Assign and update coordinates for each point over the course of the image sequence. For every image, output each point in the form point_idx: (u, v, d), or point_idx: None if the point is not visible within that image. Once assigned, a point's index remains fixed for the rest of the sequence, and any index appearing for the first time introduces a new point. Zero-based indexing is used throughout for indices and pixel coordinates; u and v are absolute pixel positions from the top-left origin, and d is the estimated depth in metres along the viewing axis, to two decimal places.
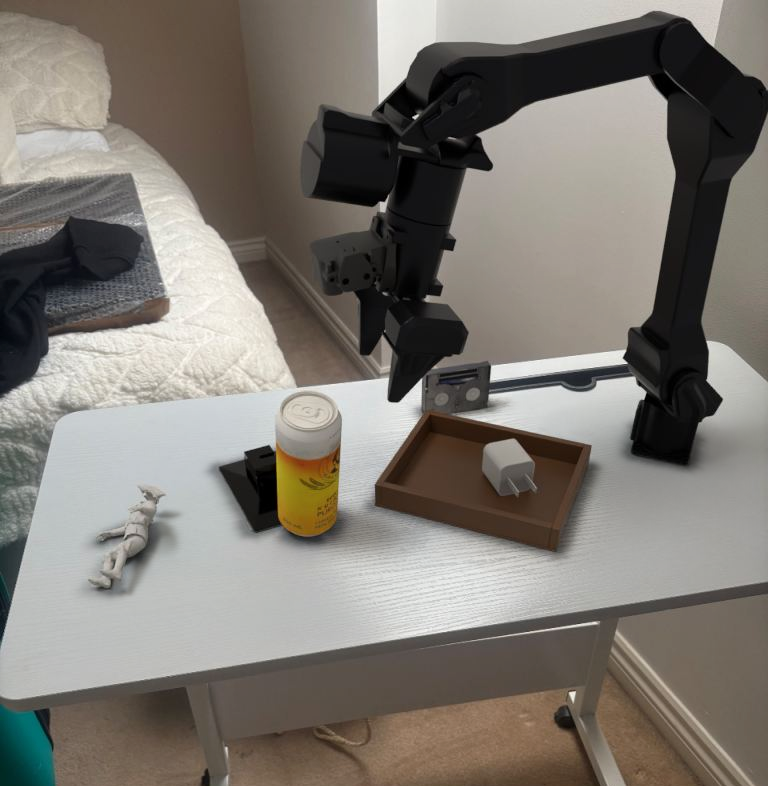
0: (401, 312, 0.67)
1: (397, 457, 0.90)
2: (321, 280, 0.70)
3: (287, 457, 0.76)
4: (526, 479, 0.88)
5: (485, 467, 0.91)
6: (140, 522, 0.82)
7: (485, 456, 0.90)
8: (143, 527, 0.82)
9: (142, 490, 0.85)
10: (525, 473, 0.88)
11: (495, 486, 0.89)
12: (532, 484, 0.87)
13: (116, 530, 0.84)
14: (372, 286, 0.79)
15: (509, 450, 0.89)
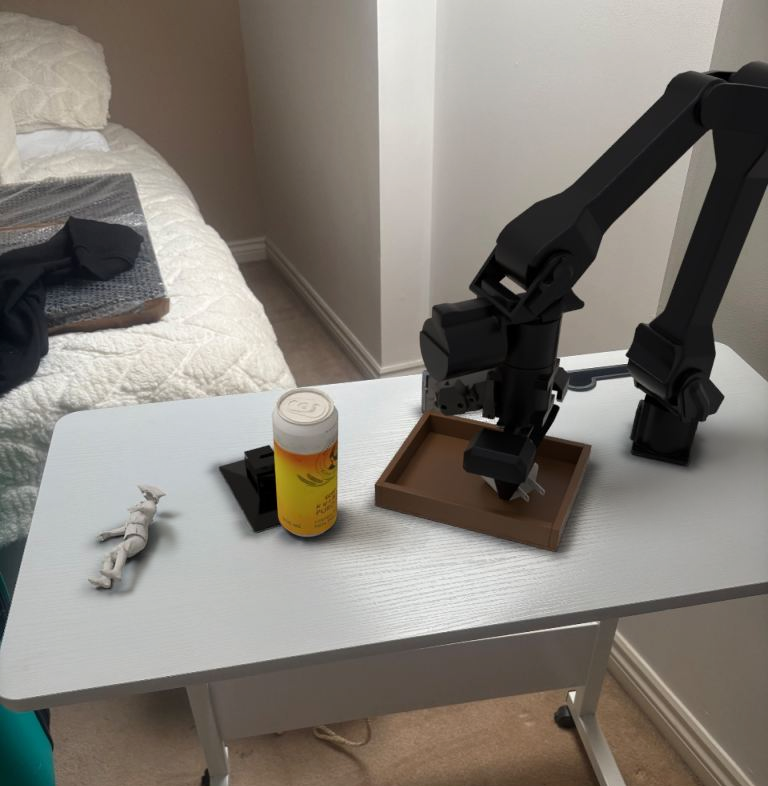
0: (474, 440, 0.79)
1: (397, 457, 0.90)
2: None
3: (284, 453, 0.76)
4: (531, 482, 0.88)
5: None
6: (140, 522, 0.82)
7: None
8: (143, 527, 0.82)
9: (142, 490, 0.85)
10: (529, 476, 0.87)
11: None
12: (539, 487, 0.86)
13: (116, 530, 0.84)
14: None
15: None
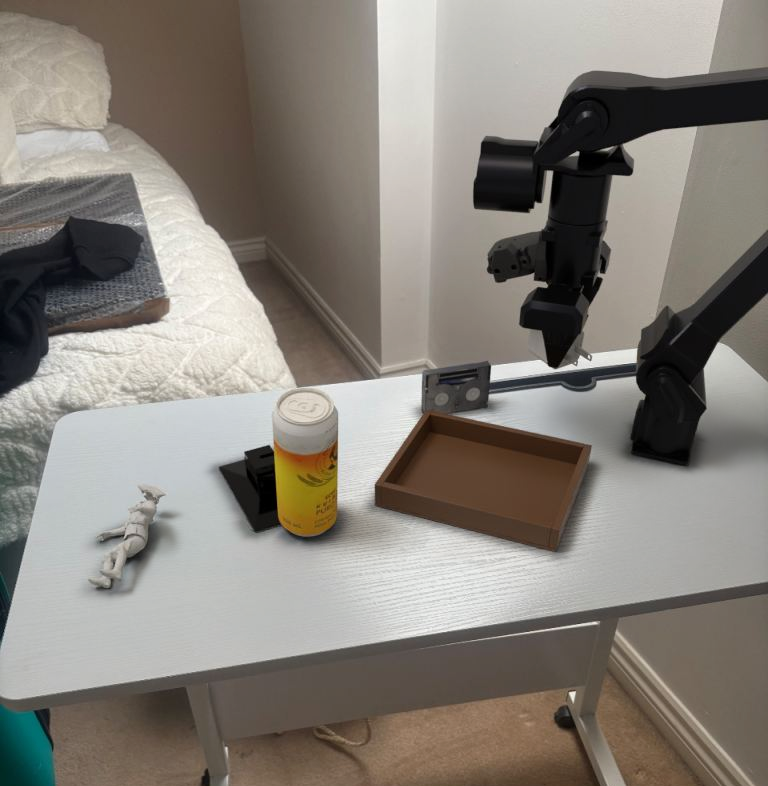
0: (529, 297, 0.82)
1: (397, 457, 0.90)
2: None
3: (284, 453, 0.76)
4: (577, 350, 0.91)
5: (532, 344, 0.92)
6: (140, 522, 0.82)
7: (533, 333, 0.92)
8: (143, 527, 0.82)
9: (142, 490, 0.85)
10: (576, 344, 0.91)
11: None
12: (586, 353, 0.90)
13: (116, 530, 0.84)
14: None
15: None
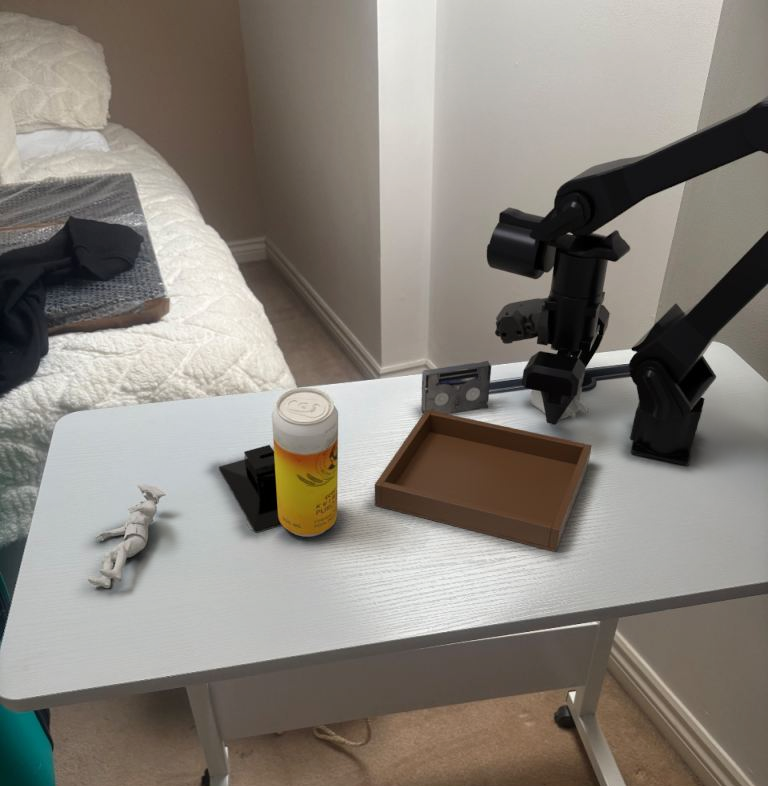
0: (532, 360, 0.92)
1: (397, 457, 0.90)
2: None
3: (284, 453, 0.76)
4: (576, 403, 1.00)
5: (535, 398, 1.02)
6: (140, 522, 0.82)
7: None
8: (143, 527, 0.82)
9: (142, 490, 0.85)
10: (574, 398, 1.00)
11: None
12: (583, 406, 0.99)
13: (116, 530, 0.84)
14: None
15: None
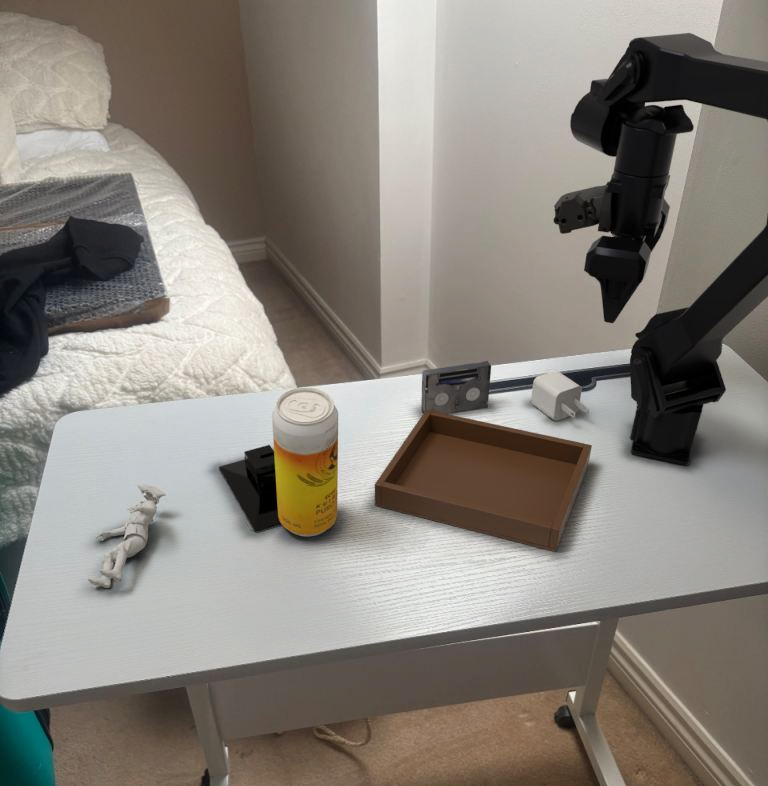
0: (595, 244, 0.88)
1: (397, 457, 0.90)
2: None
3: (284, 453, 0.76)
4: (576, 403, 1.00)
5: (535, 398, 1.02)
6: (140, 522, 0.82)
7: (535, 388, 1.01)
8: (143, 527, 0.82)
9: (142, 490, 0.85)
10: (574, 398, 1.00)
11: (549, 413, 1.01)
12: (583, 406, 0.99)
13: (116, 530, 0.84)
14: None
15: (557, 379, 1.01)
